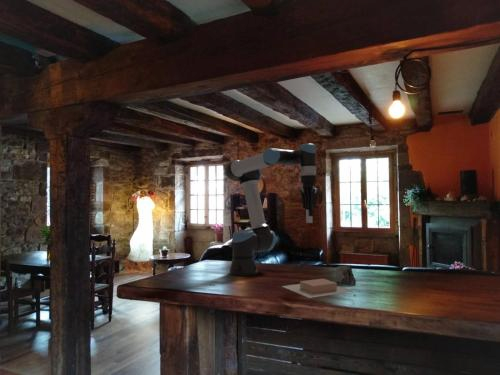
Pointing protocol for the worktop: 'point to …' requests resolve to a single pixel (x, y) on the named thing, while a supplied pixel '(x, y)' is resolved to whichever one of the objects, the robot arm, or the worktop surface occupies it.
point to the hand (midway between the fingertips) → (309, 222)
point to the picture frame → (318, 285)
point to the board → (310, 295)
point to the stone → (345, 275)
